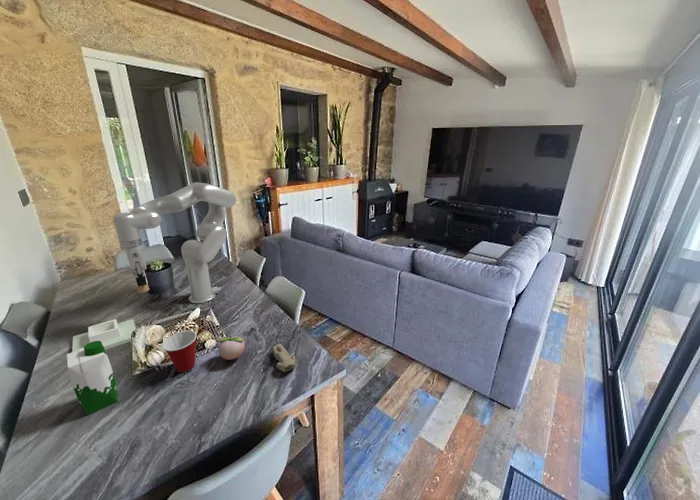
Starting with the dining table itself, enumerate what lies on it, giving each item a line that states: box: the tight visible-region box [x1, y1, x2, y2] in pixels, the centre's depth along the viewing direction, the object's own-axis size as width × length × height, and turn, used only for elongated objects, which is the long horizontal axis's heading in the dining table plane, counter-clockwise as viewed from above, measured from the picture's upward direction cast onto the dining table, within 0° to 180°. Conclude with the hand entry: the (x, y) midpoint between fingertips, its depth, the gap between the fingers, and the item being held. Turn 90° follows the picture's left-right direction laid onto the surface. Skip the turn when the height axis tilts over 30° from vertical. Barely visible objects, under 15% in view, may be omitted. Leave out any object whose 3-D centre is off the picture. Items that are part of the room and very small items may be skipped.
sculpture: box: [272, 343, 297, 373], centre depth 106 cm, size 7×5×15 cm
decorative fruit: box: [217, 335, 246, 361], centre depth 106 cm, size 9×8×10 cm
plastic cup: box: [161, 329, 197, 373], centre depth 102 cm, size 11×11×12 cm
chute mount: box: [71, 318, 137, 353], centre depth 117 cm, size 20×16×6 cm
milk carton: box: [66, 341, 119, 416], centre depth 86 cm, size 9×9×20 cm
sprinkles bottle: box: [129, 264, 150, 294], centre depth 123 cm, size 5×5×14 cm
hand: (141, 282), depth 124 cm, fingers closed on sprinkles bottle, 4 cm apart
